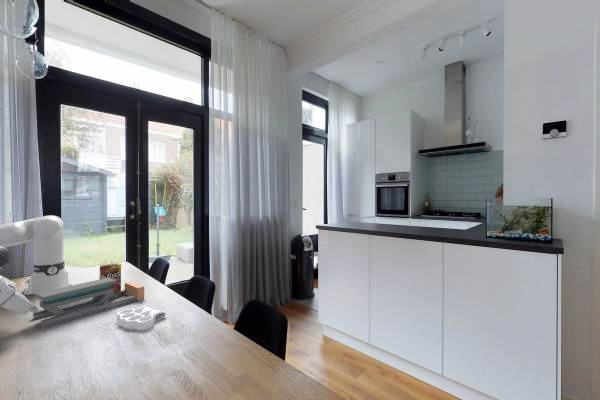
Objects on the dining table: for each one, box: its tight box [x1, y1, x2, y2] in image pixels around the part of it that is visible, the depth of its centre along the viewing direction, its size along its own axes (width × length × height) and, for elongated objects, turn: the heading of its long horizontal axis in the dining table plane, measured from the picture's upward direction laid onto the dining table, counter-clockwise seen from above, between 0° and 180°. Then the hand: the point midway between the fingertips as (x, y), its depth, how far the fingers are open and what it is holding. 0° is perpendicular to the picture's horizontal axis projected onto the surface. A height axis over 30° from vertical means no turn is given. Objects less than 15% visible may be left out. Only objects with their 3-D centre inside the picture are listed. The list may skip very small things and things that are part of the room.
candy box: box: [98, 262, 122, 292], centre depth 134 cm, size 9×4×15 cm, turn 123°
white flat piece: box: [114, 305, 167, 331], centre depth 105 cm, size 3×18×15 cm
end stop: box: [124, 281, 145, 302], centre depth 131 cm, size 14×3×6 cm, turn 54°
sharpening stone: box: [35, 278, 116, 316], centre depth 114 cm, size 25×8×11 cm, turn 148°
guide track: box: [32, 289, 139, 329], centre depth 117 cm, size 14×33×2 cm, turn 144°
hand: (36, 310), depth 103 cm, fingers closed
